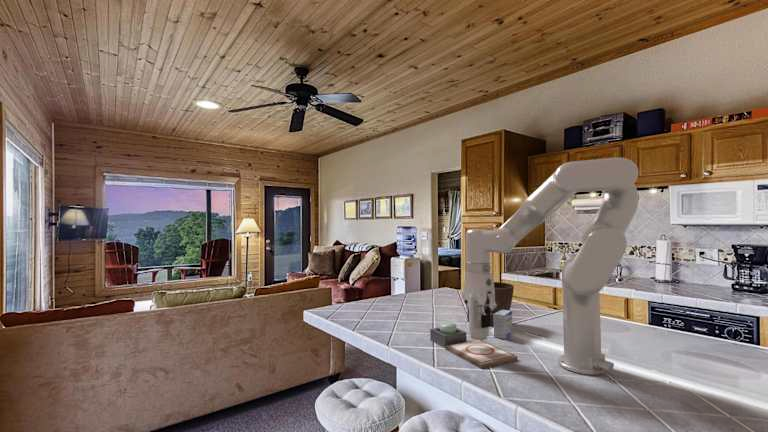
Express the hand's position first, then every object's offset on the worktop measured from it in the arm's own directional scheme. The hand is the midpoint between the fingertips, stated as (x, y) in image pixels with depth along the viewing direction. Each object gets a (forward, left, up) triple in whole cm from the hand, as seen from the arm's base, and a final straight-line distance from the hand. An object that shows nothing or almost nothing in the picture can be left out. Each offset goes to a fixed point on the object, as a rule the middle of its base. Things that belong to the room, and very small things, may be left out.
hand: (478, 323), depth 117 cm
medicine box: (+11, -20, -10) cm, 25 cm away
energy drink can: (0, 0, -5) cm, 5 cm away
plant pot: (+24, -28, -10) cm, 38 cm away
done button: (+14, +2, -7) cm, 16 cm away
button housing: (+14, +2, -10) cm, 17 cm away
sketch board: (0, 0, -10) cm, 10 cm away
